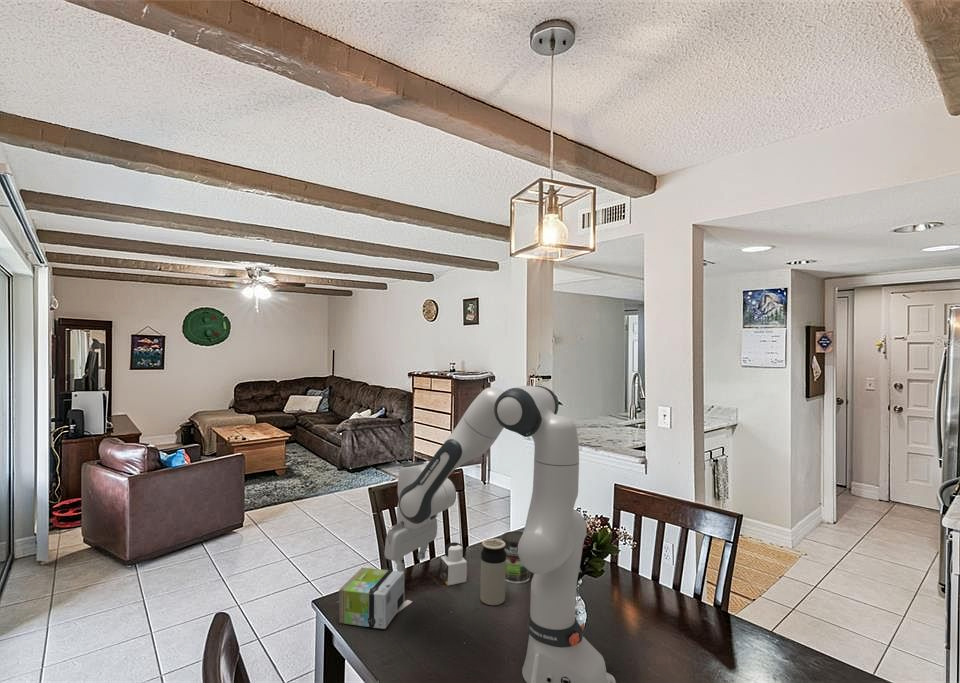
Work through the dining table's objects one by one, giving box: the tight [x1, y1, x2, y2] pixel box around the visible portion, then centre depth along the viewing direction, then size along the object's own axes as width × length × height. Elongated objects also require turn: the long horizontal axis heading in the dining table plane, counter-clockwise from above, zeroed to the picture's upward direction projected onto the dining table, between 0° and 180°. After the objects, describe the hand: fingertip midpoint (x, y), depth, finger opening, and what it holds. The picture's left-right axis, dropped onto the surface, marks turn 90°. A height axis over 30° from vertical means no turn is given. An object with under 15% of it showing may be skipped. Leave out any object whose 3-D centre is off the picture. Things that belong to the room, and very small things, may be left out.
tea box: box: [338, 567, 405, 630], centre depth 146 cm, size 15×10×15 cm
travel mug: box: [479, 538, 506, 606], centre depth 155 cm, size 8×8×18 cm
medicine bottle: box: [439, 541, 468, 586], centre depth 168 cm, size 7×7×12 cm
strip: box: [371, 599, 413, 629], centre depth 146 cm, size 2×17×1 cm, turn 149°
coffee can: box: [501, 530, 531, 585], centre depth 171 cm, size 10×10×14 cm
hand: (411, 564), depth 144 cm, fingers open, 8 cm apart
